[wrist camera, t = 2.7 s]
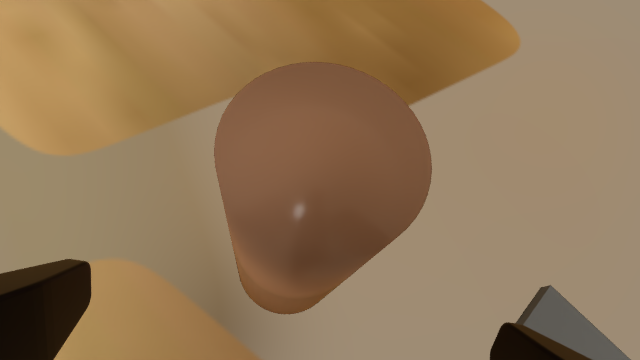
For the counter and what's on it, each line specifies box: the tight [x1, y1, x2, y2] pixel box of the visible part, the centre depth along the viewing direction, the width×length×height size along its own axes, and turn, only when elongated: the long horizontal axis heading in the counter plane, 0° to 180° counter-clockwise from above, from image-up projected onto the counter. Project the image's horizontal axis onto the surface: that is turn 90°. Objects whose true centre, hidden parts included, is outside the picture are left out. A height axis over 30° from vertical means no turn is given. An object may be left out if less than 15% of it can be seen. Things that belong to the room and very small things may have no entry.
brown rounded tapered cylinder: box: [214, 62, 432, 314], centre depth 15 cm, size 5×5×12 cm
